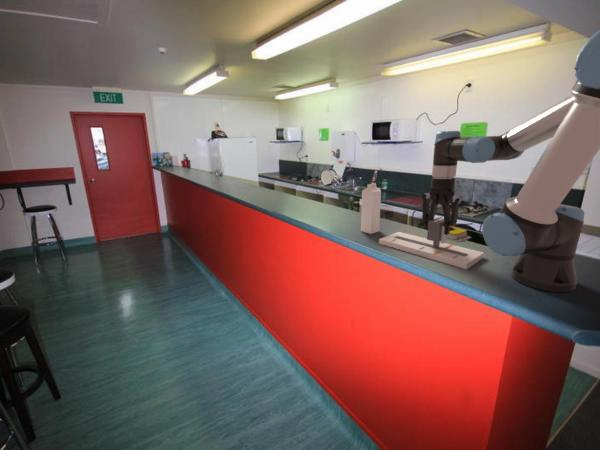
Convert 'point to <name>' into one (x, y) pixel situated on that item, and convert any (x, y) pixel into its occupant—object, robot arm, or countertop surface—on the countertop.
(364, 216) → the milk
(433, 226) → the fader
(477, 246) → the countertop surface
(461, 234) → the emergency button
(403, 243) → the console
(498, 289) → the countertop surface
